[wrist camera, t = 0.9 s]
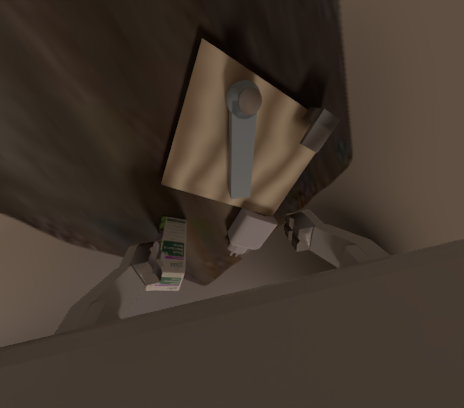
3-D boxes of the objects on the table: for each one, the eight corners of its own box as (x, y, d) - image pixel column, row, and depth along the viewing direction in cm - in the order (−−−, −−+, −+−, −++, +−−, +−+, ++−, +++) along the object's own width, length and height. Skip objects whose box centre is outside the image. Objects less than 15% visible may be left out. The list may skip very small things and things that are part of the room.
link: (225, 80, 25) (228, 79, 23) (257, 81, 26) (263, 80, 24) (226, 193, 36) (228, 199, 34) (249, 191, 37) (252, 196, 35)
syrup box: (187, 219, 40) (186, 272, 28) (182, 237, 42) (178, 293, 30) (162, 215, 38) (148, 270, 26) (158, 234, 40) (144, 292, 28)
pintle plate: (162, 181, 33) (155, 199, 27) (202, 36, 23) (206, 17, 17) (269, 213, 44) (281, 231, 38) (329, 123, 34) (358, 129, 28)
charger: (217, 246, 47) (242, 204, 41) (244, 251, 51) (271, 213, 44) (219, 259, 43) (247, 215, 37) (249, 264, 47) (279, 225, 41)
